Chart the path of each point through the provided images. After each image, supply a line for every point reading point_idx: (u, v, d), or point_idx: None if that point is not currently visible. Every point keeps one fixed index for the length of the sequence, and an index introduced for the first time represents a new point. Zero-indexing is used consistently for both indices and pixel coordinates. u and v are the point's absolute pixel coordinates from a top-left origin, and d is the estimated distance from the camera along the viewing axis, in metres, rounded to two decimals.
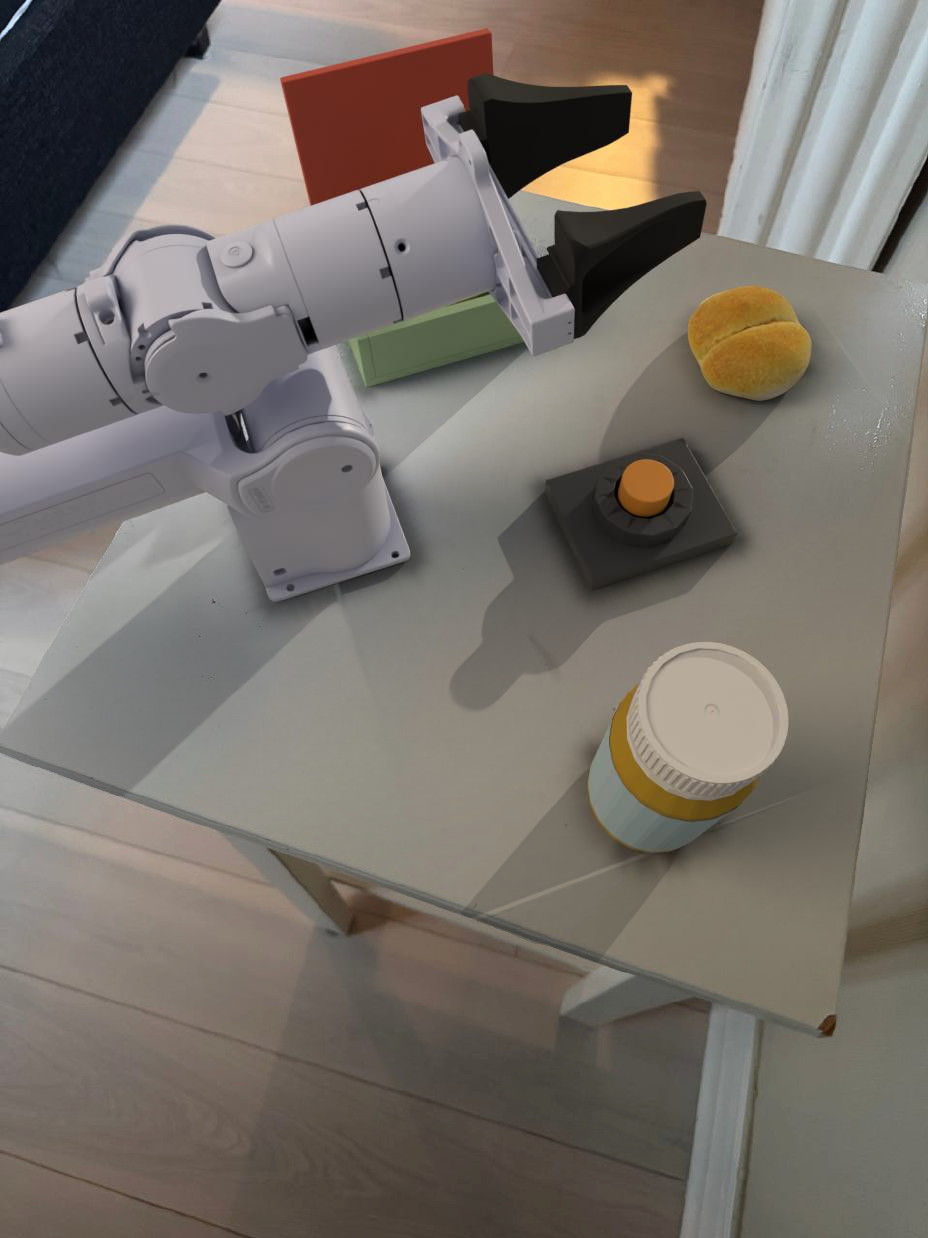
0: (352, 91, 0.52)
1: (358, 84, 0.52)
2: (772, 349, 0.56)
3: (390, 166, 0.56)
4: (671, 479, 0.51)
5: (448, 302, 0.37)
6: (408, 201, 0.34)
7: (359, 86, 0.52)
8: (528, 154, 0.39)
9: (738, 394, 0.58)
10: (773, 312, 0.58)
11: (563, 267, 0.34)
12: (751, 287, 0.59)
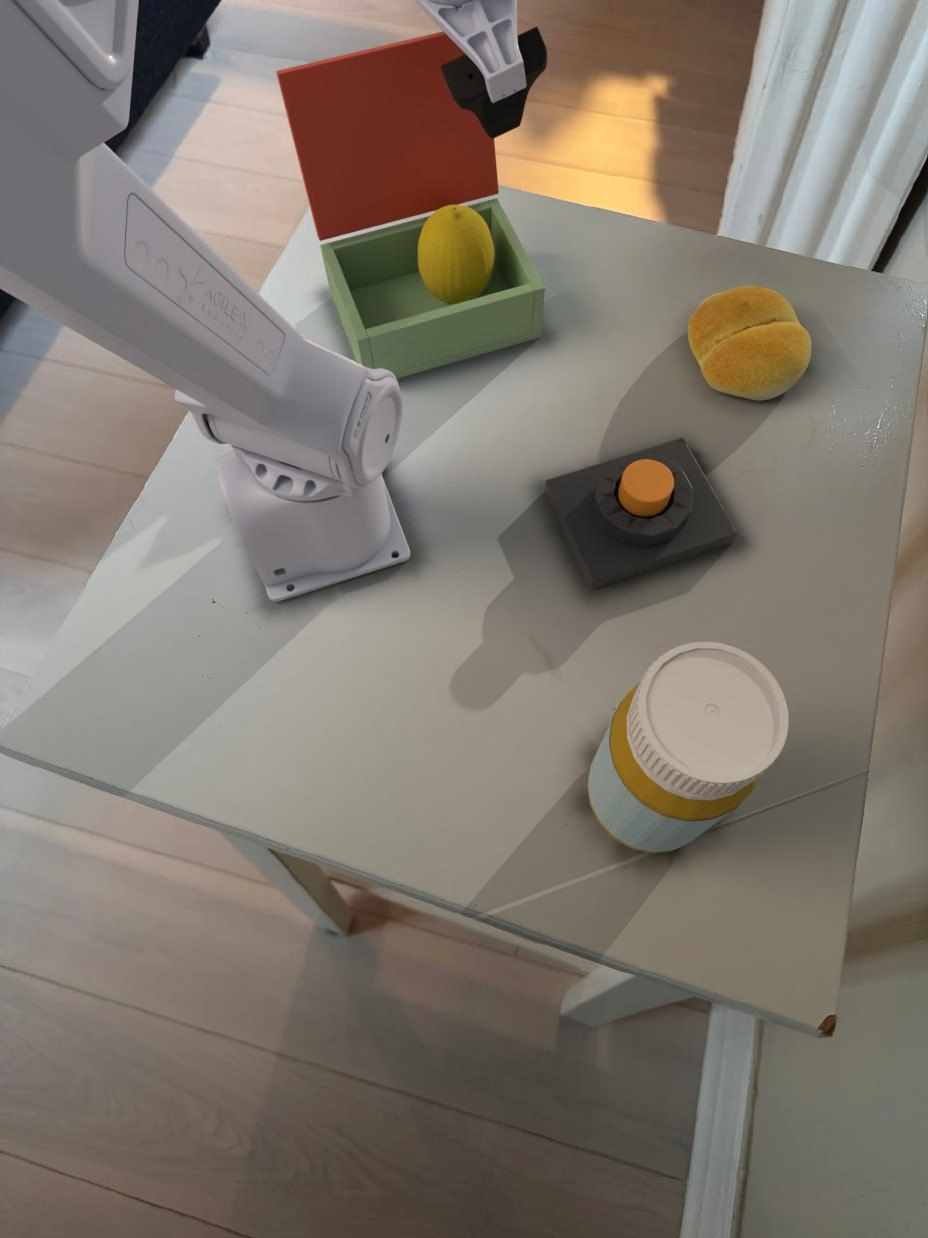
0: (348, 84, 0.53)
1: (353, 77, 0.52)
2: (772, 349, 0.56)
3: (388, 162, 0.57)
4: (671, 479, 0.51)
5: None
6: None
7: (354, 79, 0.53)
8: None
9: (738, 394, 0.58)
10: (773, 312, 0.58)
11: None
12: (751, 287, 0.59)
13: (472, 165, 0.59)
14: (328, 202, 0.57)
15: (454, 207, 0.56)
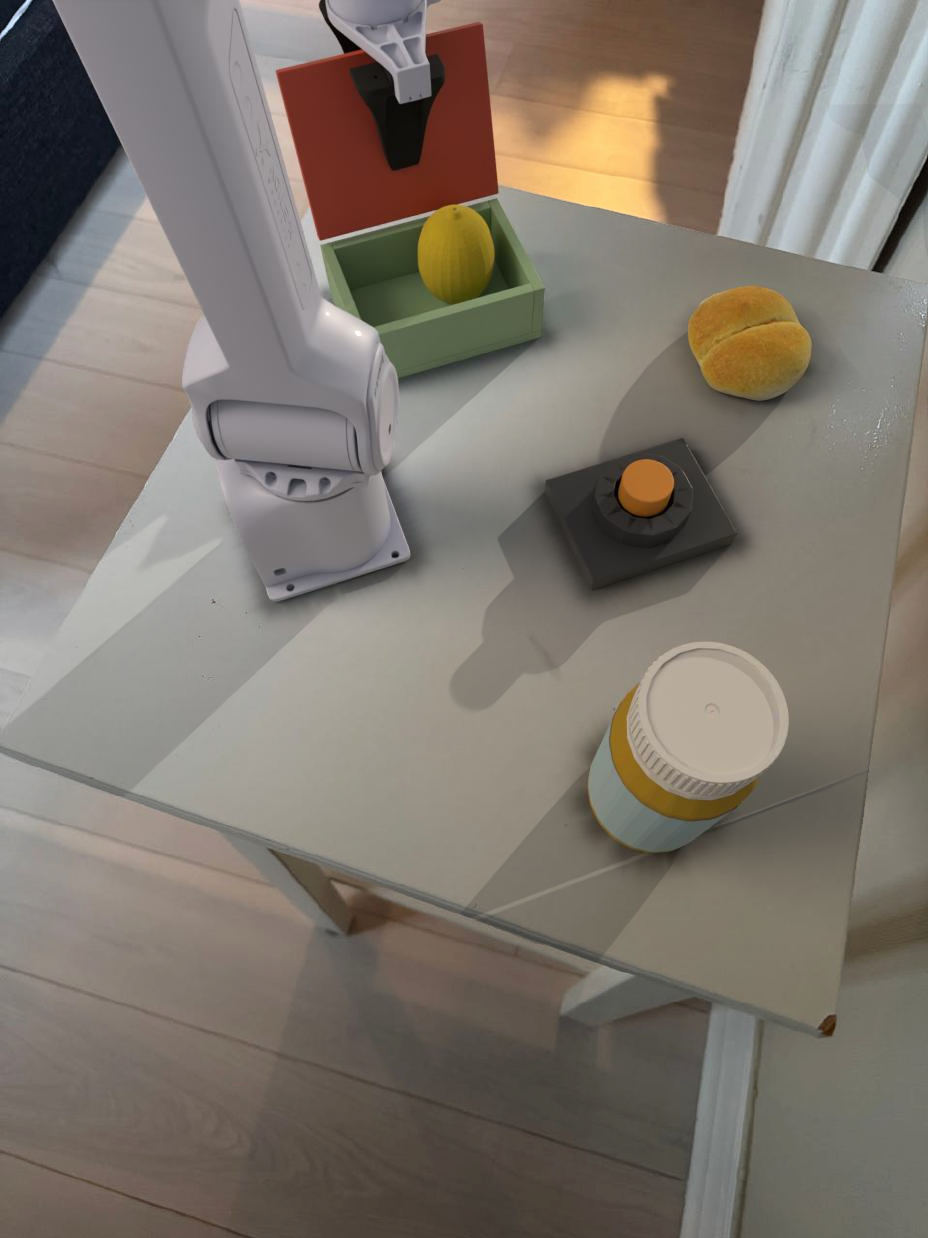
0: (347, 82, 0.53)
1: None
2: (772, 349, 0.56)
3: None
4: (671, 479, 0.51)
5: None
6: None
7: None
8: None
9: (738, 394, 0.58)
10: (773, 312, 0.58)
11: None
12: (751, 287, 0.59)
13: (472, 164, 0.59)
14: (328, 201, 0.57)
15: (454, 207, 0.56)
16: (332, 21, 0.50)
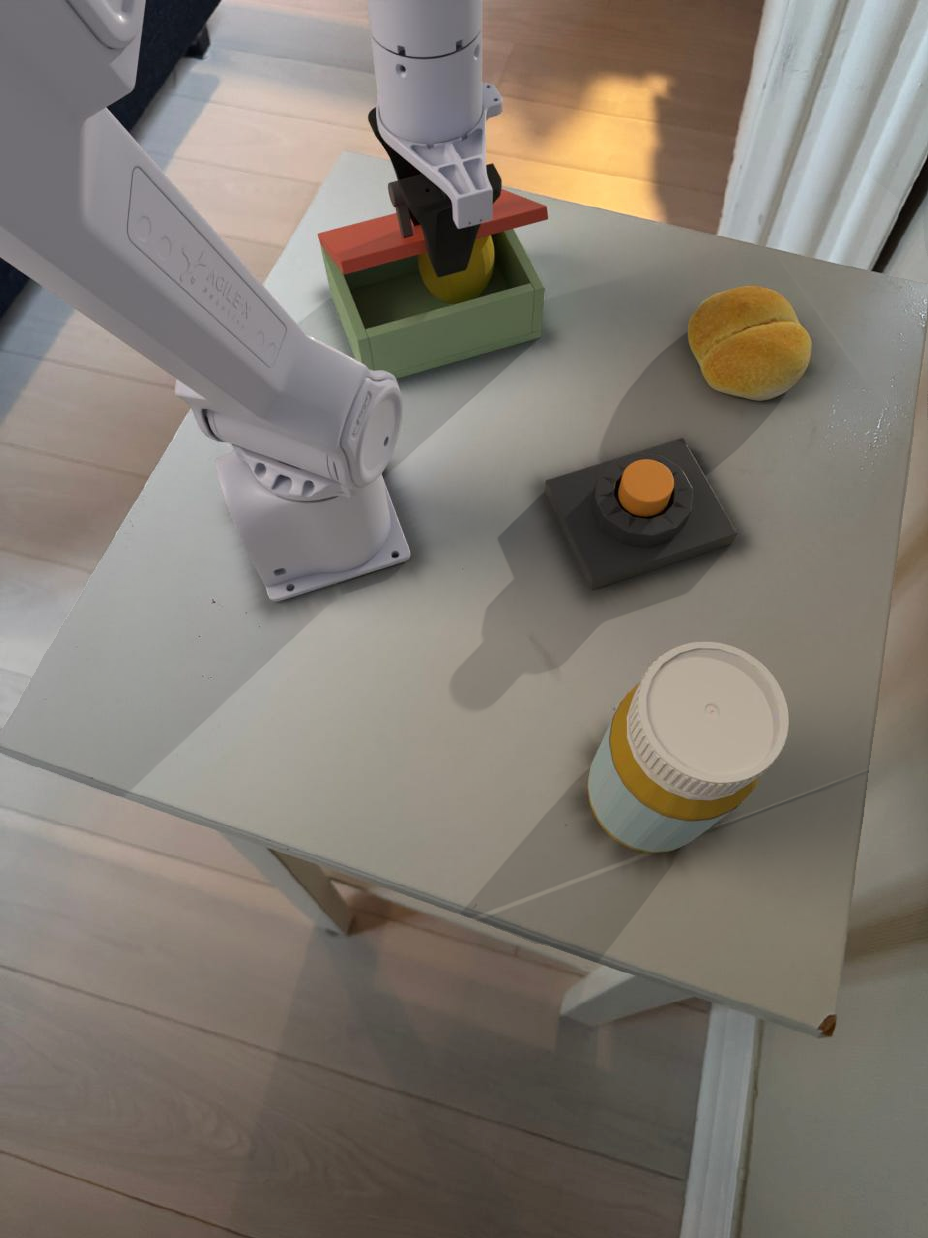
0: None
1: None
2: (772, 349, 0.56)
3: None
4: (671, 479, 0.51)
5: (420, 102, 0.43)
6: None
7: None
8: None
9: (738, 394, 0.58)
10: (773, 312, 0.58)
11: None
12: (751, 287, 0.59)
13: None
14: None
15: None
16: (384, 137, 0.46)
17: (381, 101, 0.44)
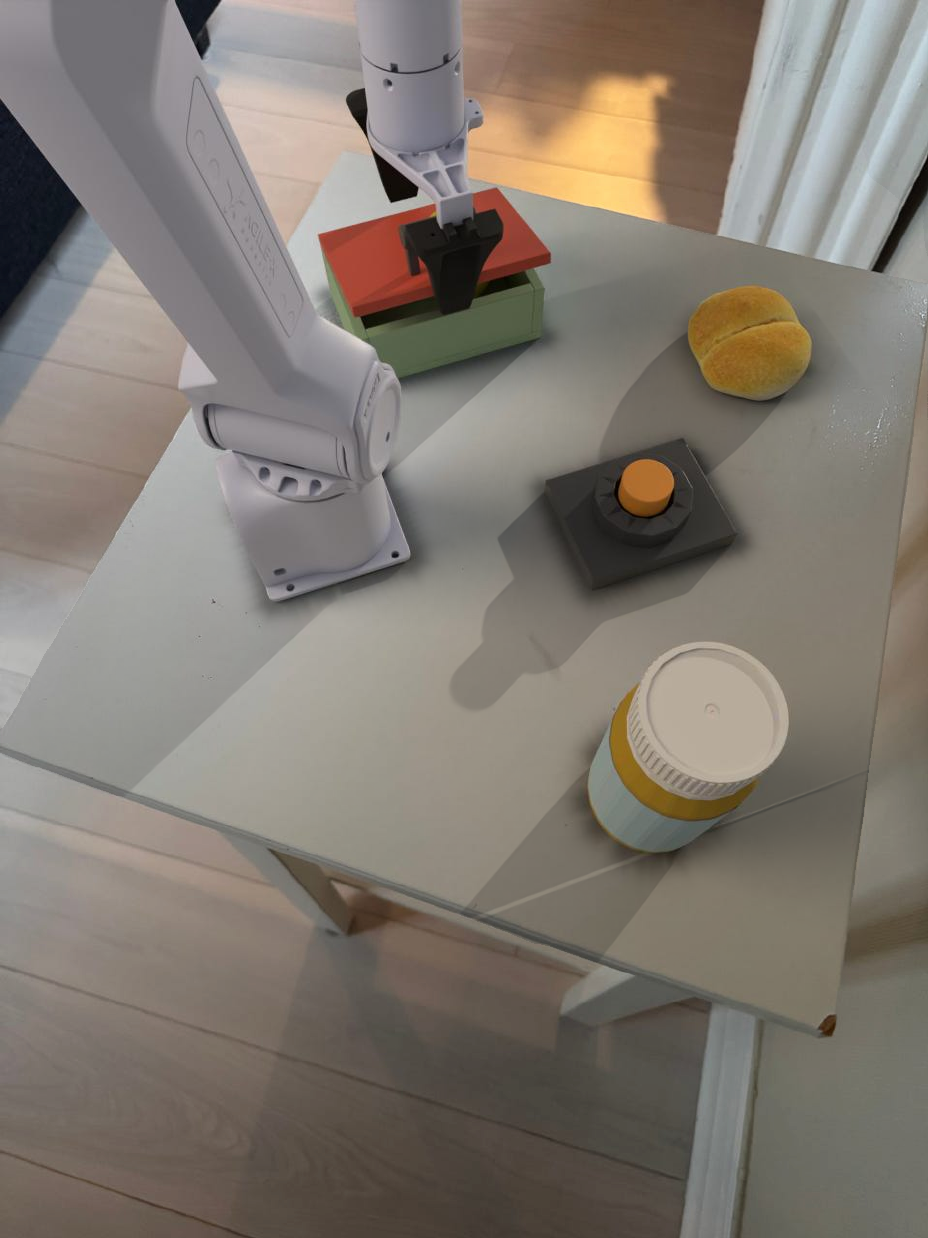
0: None
1: None
2: (772, 349, 0.56)
3: None
4: (671, 479, 0.51)
5: (405, 113, 0.46)
6: None
7: None
8: None
9: (738, 394, 0.58)
10: (773, 312, 0.58)
11: None
12: (751, 287, 0.59)
13: None
14: None
15: None
16: (373, 147, 0.50)
17: (370, 113, 0.48)
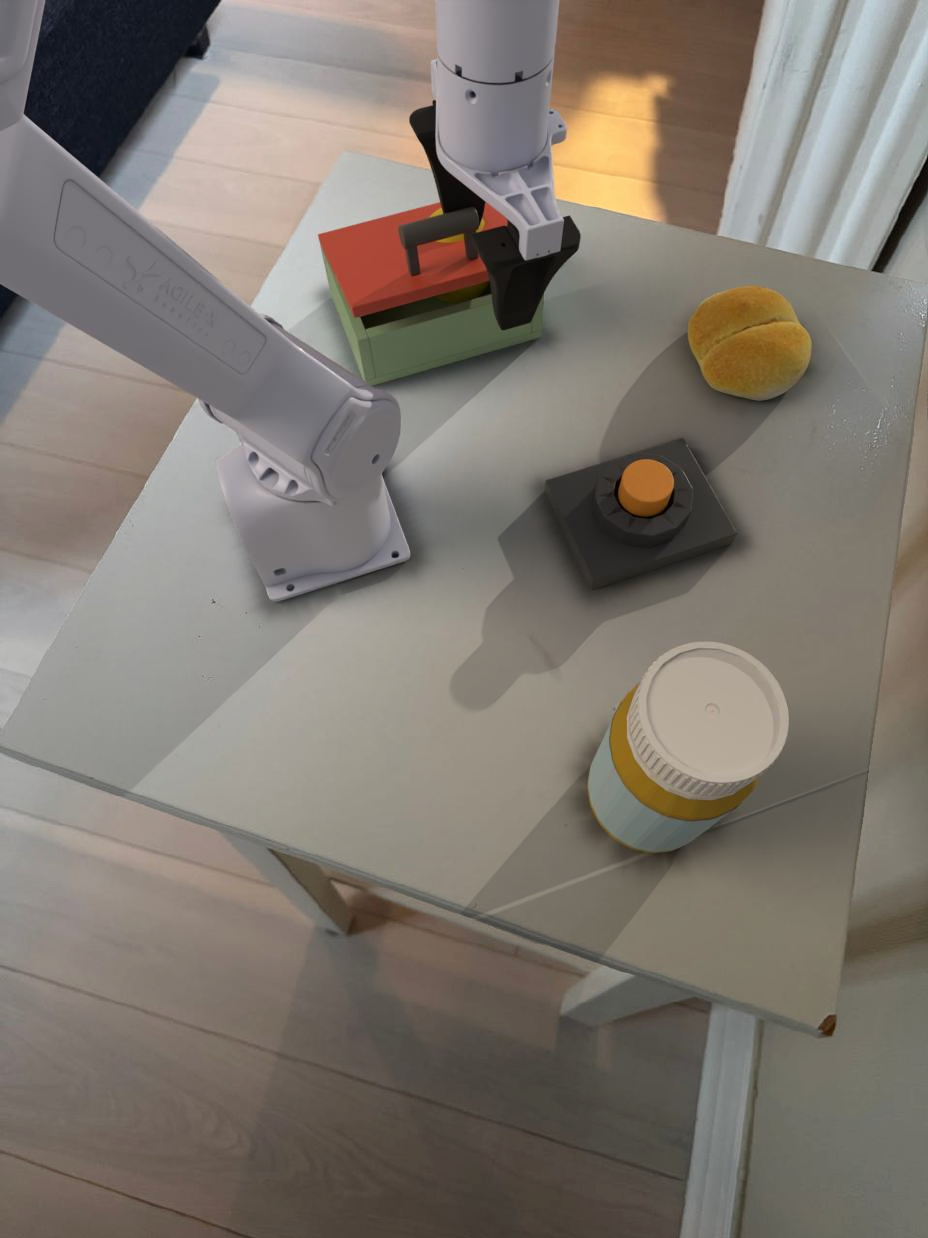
0: None
1: None
2: (772, 349, 0.56)
3: None
4: (671, 479, 0.51)
5: (488, 129, 0.41)
6: None
7: None
8: None
9: (738, 394, 0.58)
10: (773, 312, 0.58)
11: None
12: (751, 287, 0.59)
13: None
14: None
15: None
16: (444, 164, 0.44)
17: (444, 127, 0.42)
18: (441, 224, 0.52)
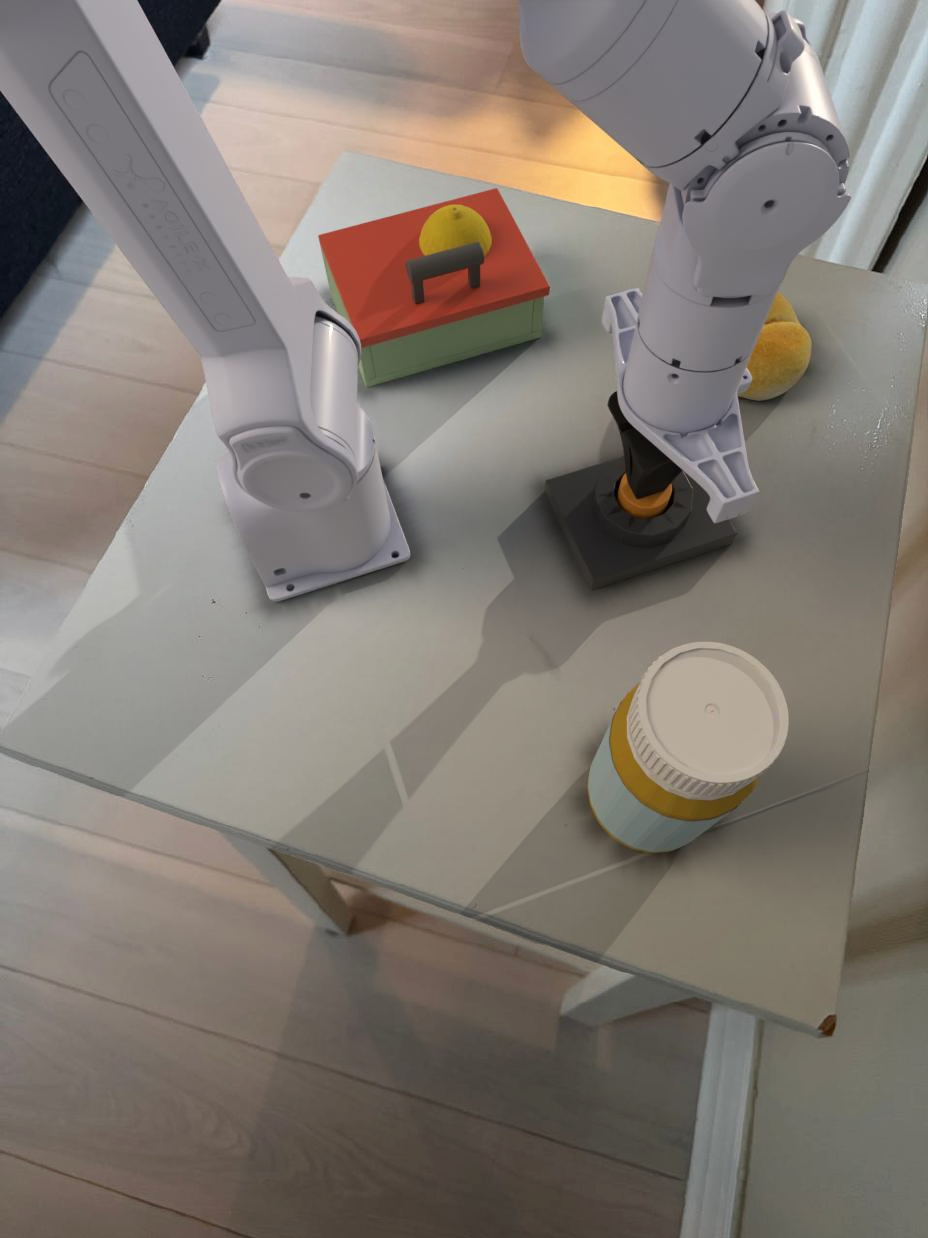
0: None
1: None
2: (772, 349, 0.56)
3: None
4: (669, 485, 0.52)
5: (686, 402, 0.40)
6: None
7: None
8: None
9: (738, 394, 0.58)
10: (773, 312, 0.58)
11: None
12: None
13: None
14: None
15: (454, 207, 0.56)
16: (628, 419, 0.43)
17: (635, 391, 0.42)
18: (448, 262, 0.53)
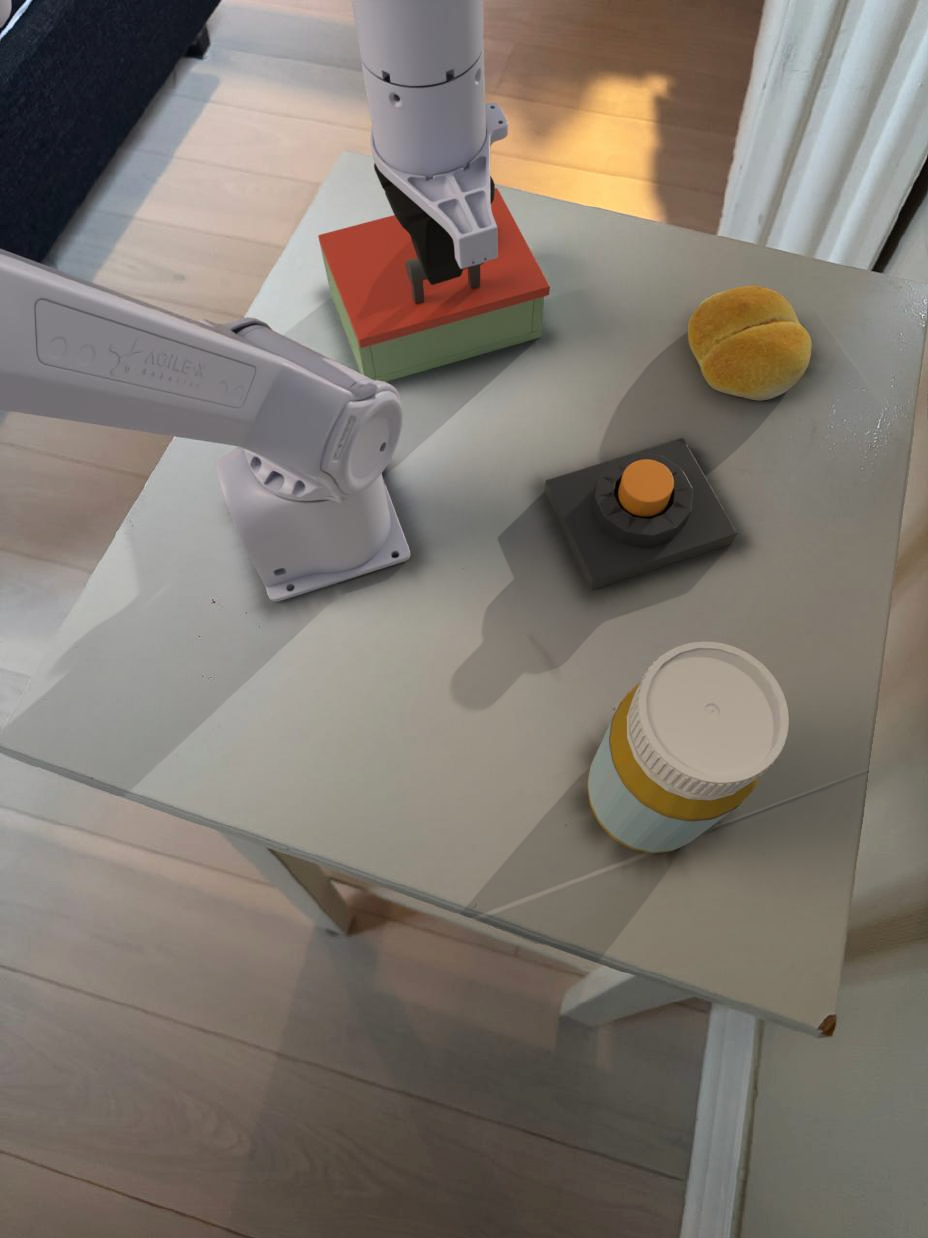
0: None
1: None
2: (772, 349, 0.56)
3: None
4: (671, 479, 0.51)
5: (416, 132, 0.39)
6: None
7: None
8: None
9: (738, 394, 0.58)
10: (773, 312, 0.58)
11: None
12: (751, 287, 0.59)
13: None
14: None
15: None
16: (379, 167, 0.42)
17: (375, 130, 0.40)
18: None
